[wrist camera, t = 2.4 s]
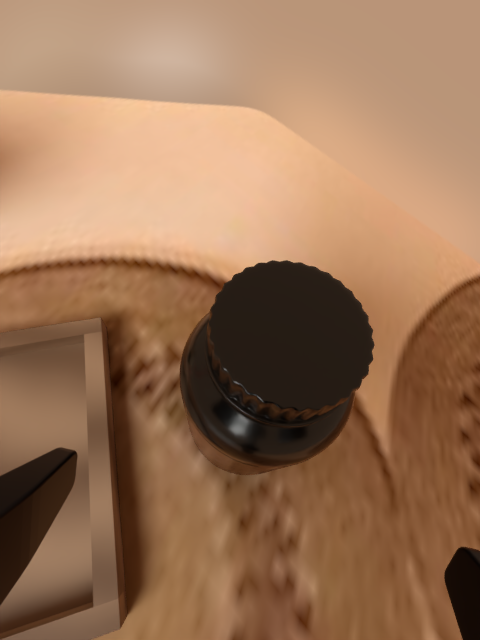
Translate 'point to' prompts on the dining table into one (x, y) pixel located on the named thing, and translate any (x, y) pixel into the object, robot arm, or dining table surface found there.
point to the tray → (89, 487)
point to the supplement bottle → (274, 367)
